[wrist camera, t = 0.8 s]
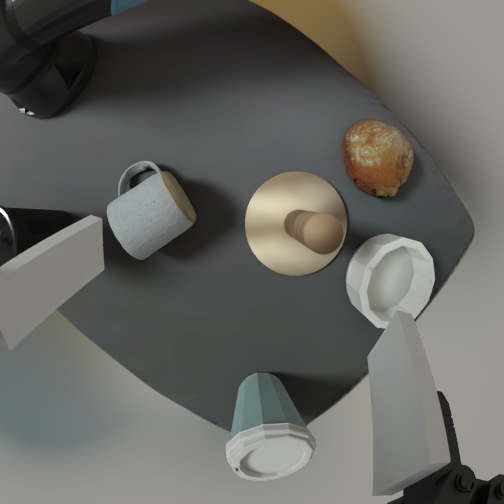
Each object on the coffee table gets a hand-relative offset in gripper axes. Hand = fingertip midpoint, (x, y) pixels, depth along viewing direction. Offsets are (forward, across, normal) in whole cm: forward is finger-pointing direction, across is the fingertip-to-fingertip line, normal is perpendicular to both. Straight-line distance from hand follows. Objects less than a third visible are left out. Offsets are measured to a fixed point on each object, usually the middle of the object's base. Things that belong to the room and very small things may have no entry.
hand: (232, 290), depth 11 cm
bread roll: (+30, +10, +5) cm, 32 cm away
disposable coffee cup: (+17, +5, -29) cm, 34 cm away
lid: (+24, +2, -5) cm, 25 cm away
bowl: (+26, +16, -9) cm, 32 cm away
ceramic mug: (+20, -16, -6) cm, 26 cm away
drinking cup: (+15, -29, -11) cm, 34 cm away
